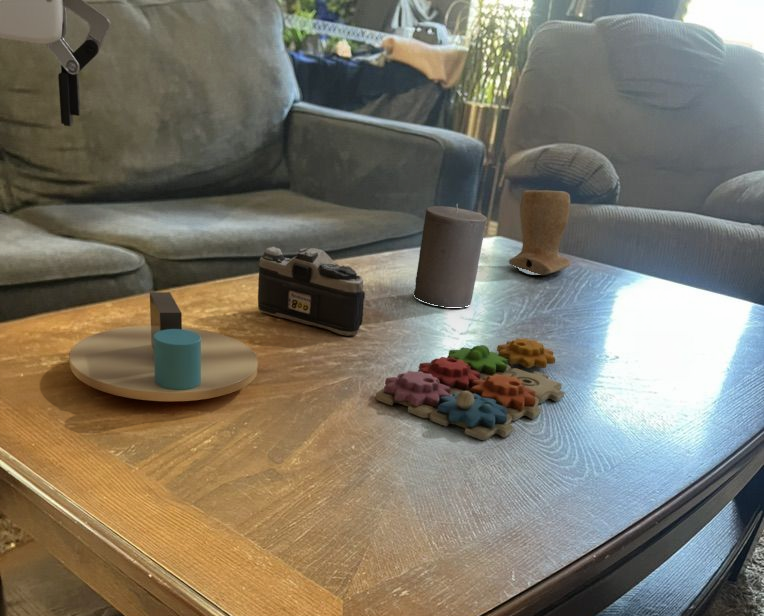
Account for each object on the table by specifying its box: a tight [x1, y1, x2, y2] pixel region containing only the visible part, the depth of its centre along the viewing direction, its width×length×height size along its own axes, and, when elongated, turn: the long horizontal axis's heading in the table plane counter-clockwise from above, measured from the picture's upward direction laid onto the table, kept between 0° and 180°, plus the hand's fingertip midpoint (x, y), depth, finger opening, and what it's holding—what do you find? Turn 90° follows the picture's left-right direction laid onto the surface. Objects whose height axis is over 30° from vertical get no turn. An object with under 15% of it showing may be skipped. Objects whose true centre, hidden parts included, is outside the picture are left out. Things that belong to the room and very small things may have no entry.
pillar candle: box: [413, 203, 488, 307], centre depth 123 cm, size 10×10×15 cm
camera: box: [257, 245, 366, 337], centre depth 109 cm, size 16×10×10 cm, turn 65°
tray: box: [68, 291, 259, 402], centre depth 84 cm, size 20×20×7 cm
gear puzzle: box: [375, 337, 565, 441], centre depth 96 cm, size 31×16×4 cm, turn 146°
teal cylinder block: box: [153, 329, 201, 390], centre depth 79 cm, size 5×5×5 cm
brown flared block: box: [508, 189, 572, 276], centre depth 150 cm, size 15×12×15 cm
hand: (7, 116), depth 67 cm, fingers open, 9 cm apart
